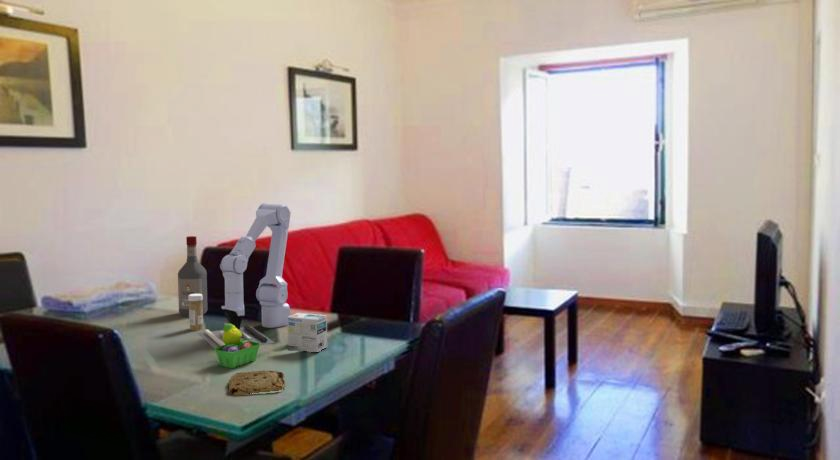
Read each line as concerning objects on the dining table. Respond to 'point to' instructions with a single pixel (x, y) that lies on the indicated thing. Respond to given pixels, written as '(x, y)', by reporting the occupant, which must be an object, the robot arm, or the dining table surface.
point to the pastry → (256, 382)
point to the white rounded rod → (214, 337)
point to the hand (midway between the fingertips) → (234, 333)
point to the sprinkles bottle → (195, 312)
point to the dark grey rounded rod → (255, 333)
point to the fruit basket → (235, 348)
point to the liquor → (191, 279)
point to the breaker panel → (245, 336)
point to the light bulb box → (307, 332)
